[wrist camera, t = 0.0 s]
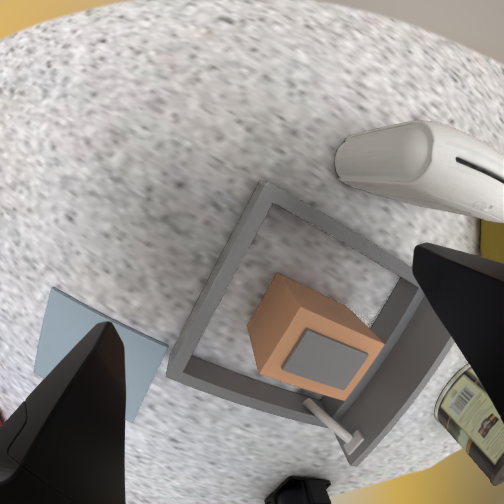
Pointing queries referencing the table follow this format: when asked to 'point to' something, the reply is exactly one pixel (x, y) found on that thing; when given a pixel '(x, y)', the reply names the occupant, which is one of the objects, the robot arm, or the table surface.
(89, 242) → the table surface
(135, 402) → the mat
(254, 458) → the table surface
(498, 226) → the flower pot
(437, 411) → the coffee can
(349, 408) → the grey open frame
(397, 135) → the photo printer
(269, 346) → the block
